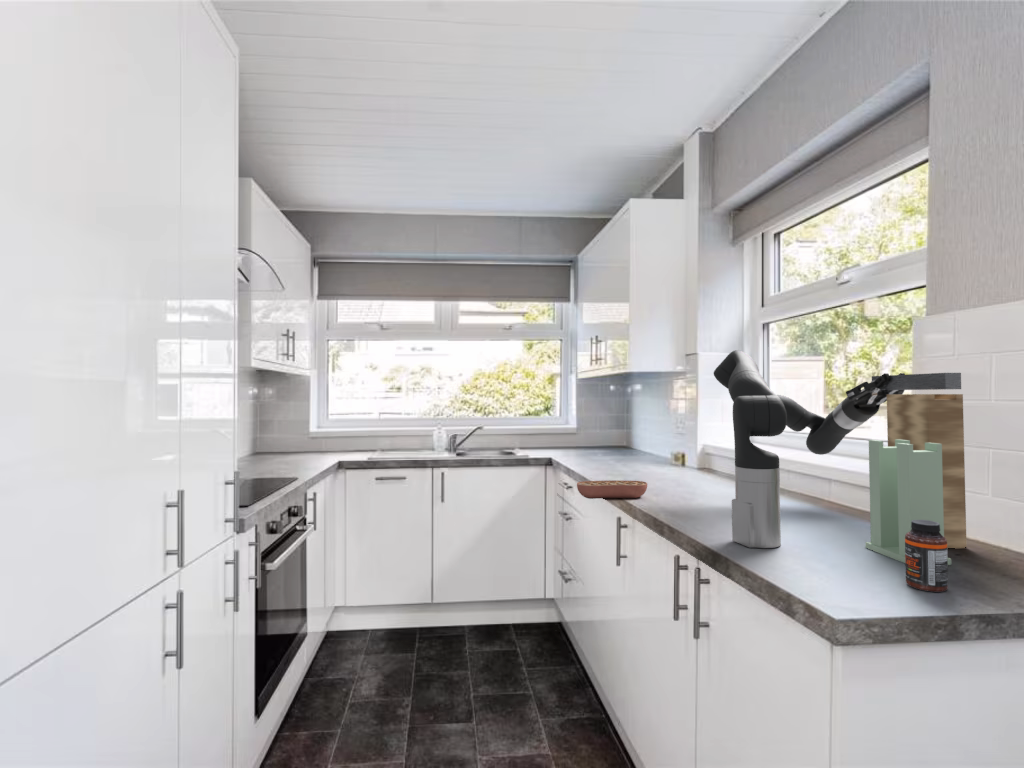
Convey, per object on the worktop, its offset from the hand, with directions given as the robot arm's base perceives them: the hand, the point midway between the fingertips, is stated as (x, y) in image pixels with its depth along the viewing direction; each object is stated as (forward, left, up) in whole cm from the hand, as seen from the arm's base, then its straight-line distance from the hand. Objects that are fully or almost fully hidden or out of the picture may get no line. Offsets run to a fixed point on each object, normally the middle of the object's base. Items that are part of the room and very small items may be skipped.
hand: (896, 376), depth 134 cm
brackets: (-16, -15, -38) cm, 44 cm away
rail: (-1, -5, -3) cm, 6 cm away
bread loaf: (-47, +62, -38) cm, 86 cm away
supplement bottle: (-29, -31, -38) cm, 57 cm away
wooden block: (-1, -8, -38) cm, 38 cm away
